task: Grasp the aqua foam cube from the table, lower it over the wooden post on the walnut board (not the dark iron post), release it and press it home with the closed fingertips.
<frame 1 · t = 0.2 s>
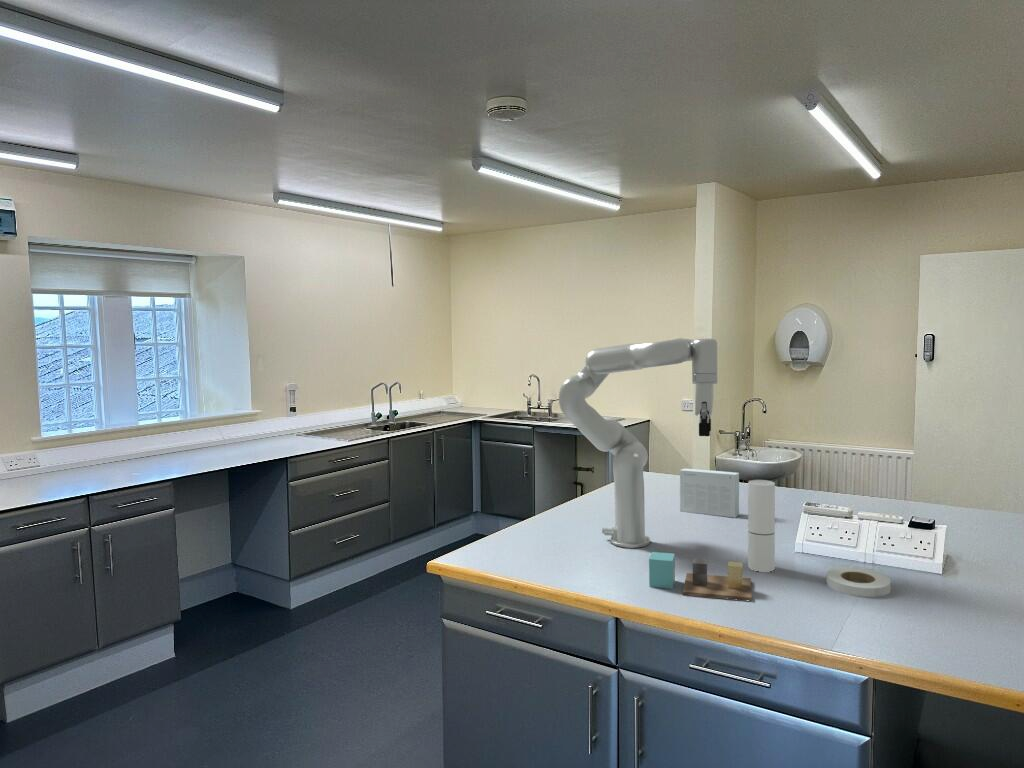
hand: (705, 433, 216), 36 cm above the countertop, tool pointing down, fingers open, 9 cm apart
wooden post: (735, 589, 184), resting on walnut board
roll of tape: (857, 587, 185), on the countertop
skincare box: (709, 513, 259), on the countertop
walnut board: (717, 588, 186), on the countertop
aqua foam cube: (662, 583, 190), on the countertop
cylindrical container: (761, 568, 200), on the countertop
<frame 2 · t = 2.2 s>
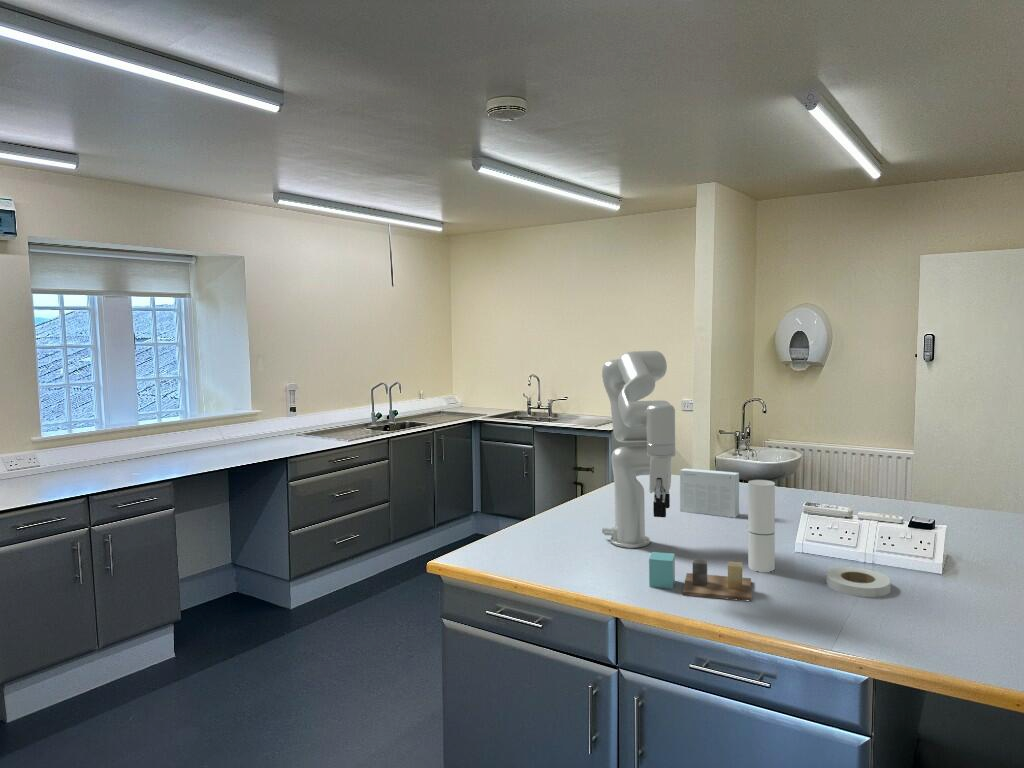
hand: (661, 512, 189), 20 cm above the countertop, tool pointing down, fingers open, 9 cm apart
nothing on the countertop moved.
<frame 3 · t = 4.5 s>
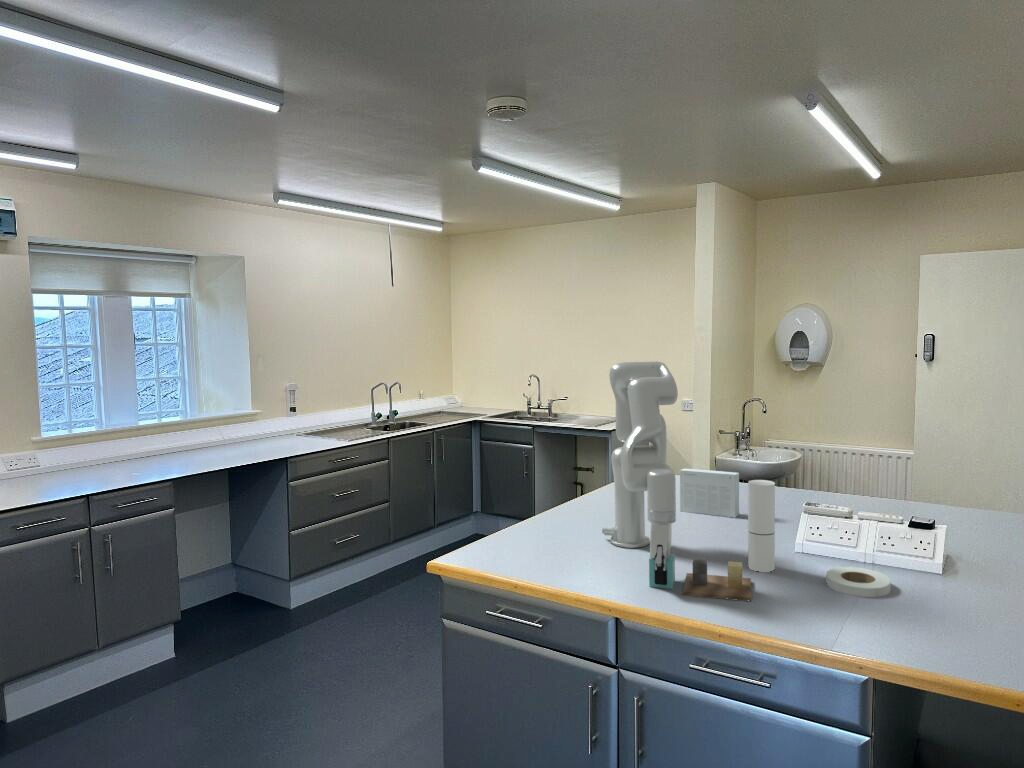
hand: (662, 579, 190), 1 cm above the countertop, tool pointing down, fingers closed on aqua foam cube, 6 cm apart
aqua foam cube: (662, 583, 190), on the countertop, touching gripper
everything else where it was.
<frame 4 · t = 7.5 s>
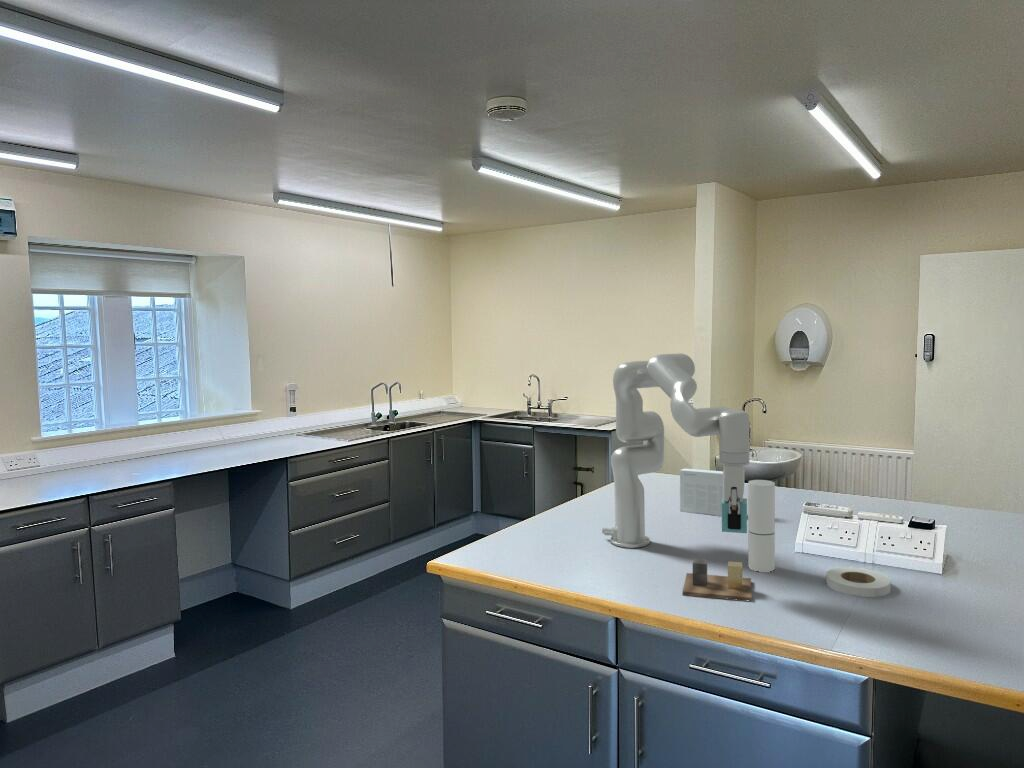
hand: (734, 524, 183), 18 cm above the countertop, tool pointing down, fingers closed on aqua foam cube, 6 cm apart
aqua foam cube: (734, 529, 183), point 16 cm above the countertop, touching gripper
everything else where it was.
when the fingers open (4 cm above the countertop, at t = 10.5 s): aqua foam cube drops 1 cm, resting on walnut board.
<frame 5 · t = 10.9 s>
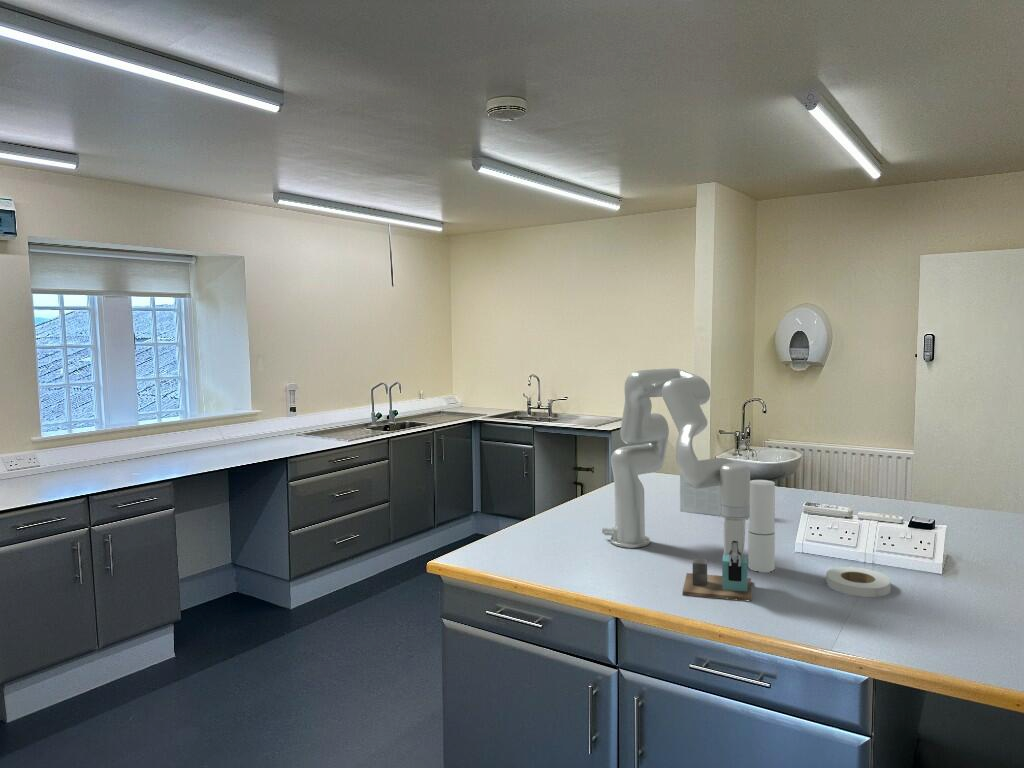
hand: (735, 574, 184), 4 cm above the countertop, tool pointing down, fingers open, 9 cm apart
aqua foam cube: (735, 586, 184), point 1 cm above the countertop, touching walnut board
everything else where it was.
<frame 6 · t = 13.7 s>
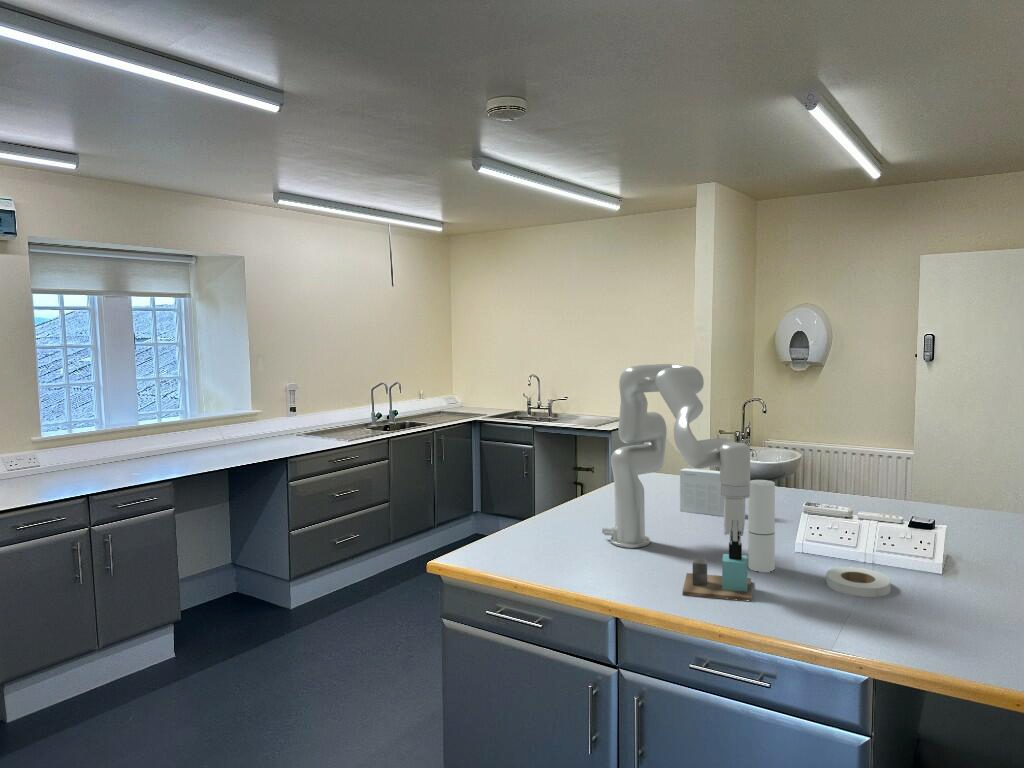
hand: (735, 558, 184), 9 cm above the countertop, tool pointing down, fingers closed
aqua foam cube: (735, 586, 184), point 1 cm above the countertop, touching gripper, walnut board
everything else where it was.
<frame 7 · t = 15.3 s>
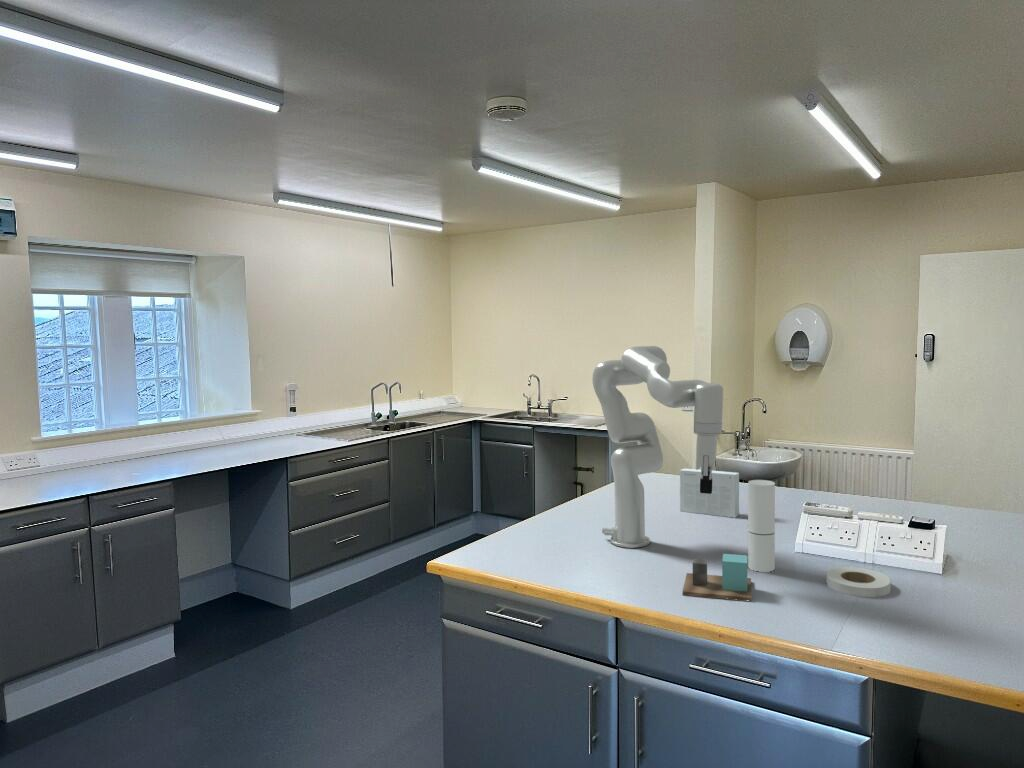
hand: (705, 492, 194), 24 cm above the countertop, tool pointing down, fingers closed
aqua foam cube: (735, 586, 184), point 1 cm above the countertop, touching walnut board
everything else where it was.
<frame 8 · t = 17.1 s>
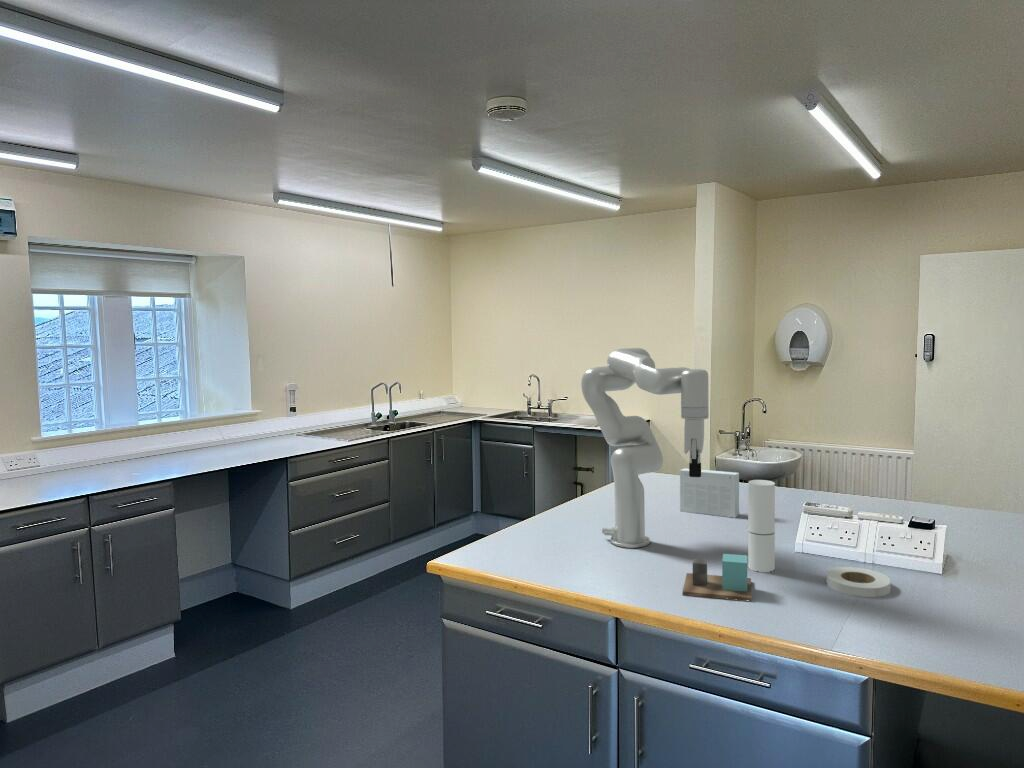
hand: (695, 476, 199), 27 cm above the countertop, tool pointing down, fingers closed
nothing on the countertop moved.
at the end: aqua foam cube 0.0 cm from the wooden post (horizontally); aqua foam cube point 1.0 cm above the countertop; aqua foam cube tilted 0° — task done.
